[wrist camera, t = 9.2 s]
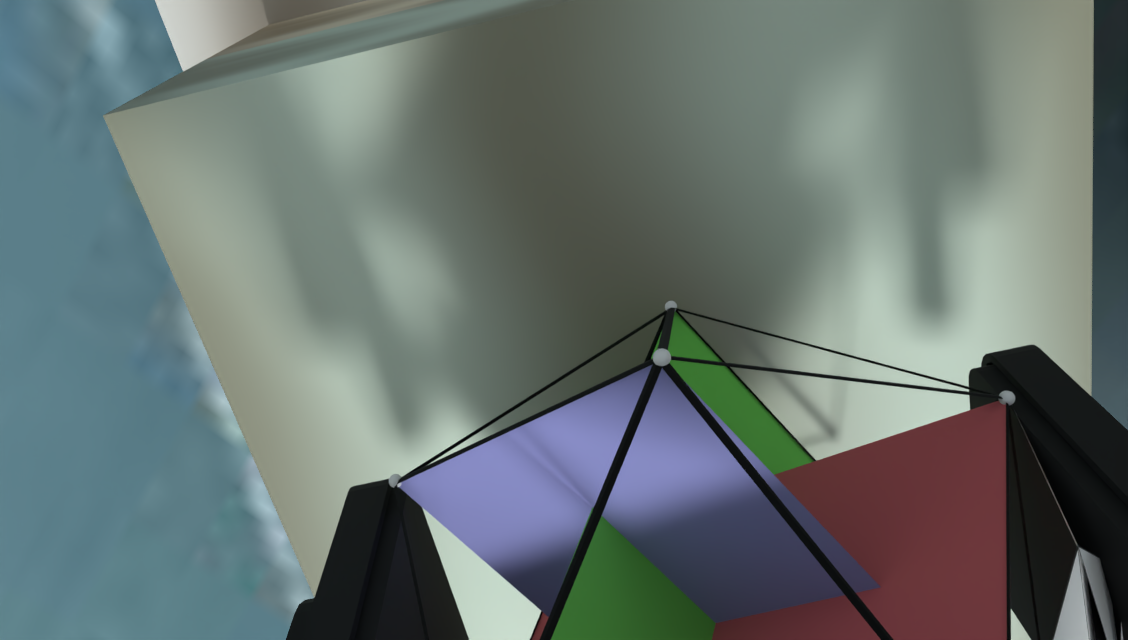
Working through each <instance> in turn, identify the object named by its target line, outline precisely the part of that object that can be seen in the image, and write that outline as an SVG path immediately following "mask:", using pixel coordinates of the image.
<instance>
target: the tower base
mask: <svg viewBox="0 0 1128 640" xmlns="http://www.w3.org/2000/svg"><path fill="white" fill-rule="evenodd" d="M155 1H156V4H157V7H158V9H159V12H160V14H161V17H162V19H163V22H164V24H165V27H166V29H167V32H168V34H169V37H170V39H171V42H172V45H173V47H174V50H175V52H176V55H177V57H178V60H179V62H180V65H181V67H182V70H183V72H182V73H180V74H178V75H176V76H174V77H173V78H171V79H169V80H167V81H165V82H163V83H162V84H160V85H158V86H156V87H154V88H152V89H151V90H149V91H147V92H145V93H143V94H141V95H140V96H138V97H136V98H134V99H132V100H131V101H129V102H127V103H125V104H123V105H121V106H120V107H118V108H116V109H114V110H112V111H110V112H109V113H107V114H105V115H103V116H104V119H105V121H106V123H107V126H108V128H109V130H110V132H111V135H112V137H113V139H114V142H115V144H116V146H117V148H118V151H119V153H120V155H121V158H122V160H123V162H124V164H125V167H126V169H127V171H128V173H129V176H130V178H131V180H132V183H133V185H134V187H135V189H136V192H137V194H138V196H139V199H140V201H141V203H142V205H143V208H144V210H145V212H146V215H147V217H148V219H149V221H150V224H151V226H152V228H153V230H154V233H155V235H156V237H157V240H158V242H159V244H160V246H161V249H162V251H163V253H164V256H165V258H166V260H167V262H168V265H169V267H170V269H171V272H172V274H173V276H174V278H175V281H176V283H177V285H178V288H179V290H180V292H181V294H182V297H183V299H184V301H185V303H186V306H187V308H188V310H189V313H190V315H191V317H192V319H193V322H194V324H195V326H196V329H197V331H198V333H199V335H200V338H201V340H202V342H203V345H204V347H205V349H206V351H207V354H208V356H209V358H210V360H211V363H212V365H213V367H214V370H215V372H216V374H217V376H218V379H219V381H220V383H221V386H222V388H223V390H224V392H225V395H226V397H227V399H228V402H229V404H230V406H231V408H232V411H233V413H234V415H235V417H236V420H237V422H238V424H239V427H240V429H241V431H242V433H243V436H244V438H245V440H246V443H247V445H248V447H249V449H250V452H251V454H252V456H253V459H254V461H255V463H256V465H257V468H258V470H259V472H260V475H261V477H262V479H263V481H264V484H265V486H266V488H267V490H268V493H269V495H270V497H271V500H272V502H273V504H274V506H275V509H276V511H277V513H278V516H279V518H280V520H281V522H282V525H283V527H284V529H285V532H286V534H287V536H288V538H289V541H290V543H291V545H292V547H293V550H294V552H295V554H296V557H297V559H298V561H299V563H300V566H301V568H302V570H303V573H304V575H305V577H306V579H307V582H308V584H309V586H310V589H311V591H312V593H313V595H314V598H315V595H316V591H317V588H318V585H319V582H320V579H321V576H322V572H323V569H324V566H325V563H326V560H327V557H328V554H329V550H330V547H331V544H332V541H333V538H334V535H335V531H336V528H337V525H338V522H339V519H340V516H341V512H342V509H343V506H344V503H345V500H346V497H347V493H348V491H349V489H350V487H353V486H356V485H361V484H366V483H370V482H375V481H380V480H385V479H389V478H390V476H391V475H393V474H399V475H400V476H401V477H402V476H404V475H405V474H407V473H409V472H410V471H412V470H413V469H415V468H416V467H418V466H420V465H421V464H423V463H424V462H426V461H428V460H429V459H431V458H432V457H434V456H435V455H437V454H439V453H440V452H442V451H443V450H445V449H447V448H448V447H450V446H451V445H453V444H455V443H456V442H458V441H459V440H461V439H462V438H464V437H466V436H467V435H469V434H470V433H472V432H474V431H475V430H477V429H478V428H480V427H481V426H483V425H485V424H486V423H488V422H489V421H491V420H493V419H494V418H496V417H497V416H499V415H500V414H502V413H504V412H505V411H507V410H508V409H510V408H512V407H513V406H515V405H516V404H518V403H520V402H521V401H523V400H524V399H526V398H527V397H529V396H531V395H532V394H534V393H535V392H537V391H539V390H540V389H542V388H543V387H545V386H546V385H548V384H550V383H551V382H553V381H554V380H556V379H558V378H559V377H561V376H562V375H564V374H565V373H567V372H569V371H570V370H572V369H573V368H575V367H577V366H578V365H580V364H581V363H583V362H585V361H586V360H588V359H589V358H591V357H592V356H594V355H596V354H597V353H599V352H600V351H602V350H604V349H605V348H607V347H608V346H610V345H611V344H613V343H615V342H616V341H618V340H619V339H621V338H623V337H624V336H626V335H627V334H629V333H630V332H632V331H634V330H635V329H637V328H638V327H640V326H642V325H643V324H645V323H646V322H648V321H650V320H651V319H653V318H654V317H656V316H657V315H659V314H661V313H662V312H664V311H665V310H666V309H665V304H666V303H667V302H668V301H674V302H675V303H676V304H677V308H678V309H681V310H685V311H689V312H693V313H696V314H700V315H704V316H707V317H711V318H715V319H719V320H722V321H726V322H730V323H733V324H737V325H741V326H745V327H748V328H752V329H756V330H760V331H763V332H767V333H771V334H774V335H778V336H782V337H786V338H789V339H793V340H797V341H800V342H804V343H808V344H812V345H815V346H819V347H823V348H827V349H830V350H834V351H838V352H841V353H845V354H849V355H853V356H856V357H860V358H864V359H867V360H871V361H875V362H879V363H882V364H886V365H890V366H894V367H897V368H901V369H905V370H908V371H912V372H916V373H920V374H923V375H927V376H931V377H934V378H938V379H942V380H946V381H949V382H953V383H957V384H961V385H964V386H968V387H969V372H970V370H971V369H973V368H978V367H981V363H982V359H983V356H984V355H985V354H988V353H992V352H997V351H1002V350H1007V349H1011V348H1016V347H1021V346H1026V345H1036V346H1037V347H1039V348H1040V349H1041V350H1042V351H1043V352H1044V353H1046V354H1047V355H1048V356H1049V357H1050V358H1051V359H1052V360H1053V361H1054V362H1055V363H1056V364H1057V365H1058V366H1059V367H1060V368H1062V369H1063V370H1064V371H1065V372H1066V373H1067V374H1068V375H1069V376H1070V377H1071V378H1072V379H1073V380H1074V381H1075V382H1077V383H1078V384H1079V385H1080V386H1081V387H1082V388H1083V389H1084V390H1085V391H1086V392H1087V393H1088V394H1089V395H1090V396H1091V360H1092V198H1093V36H1094V0H155ZM678 312H679V313H680V314H681V315H682V316H683V317H684V318H685V319H686V320H687V321H688V322H689V323H690V325H691V326H692V327H693V328H694V329H695V330H696V331H697V332H698V333H699V334H700V335H701V336H702V338H703V339H704V340H705V341H706V342H707V343H708V344H709V345H710V346H711V347H712V348H713V349H714V350H715V352H716V353H717V354H718V355H719V356H720V357H721V358H722V359H723V360H724V361H725V362H726V363H735V364H743V365H751V366H760V367H768V368H776V369H785V370H793V371H801V372H810V373H818V374H826V375H834V376H843V377H851V378H859V379H868V380H876V381H884V382H893V383H901V384H909V385H918V386H926V387H934V388H943V389H951V390H959V391H968V392H969V389H965V388H961V387H958V386H954V385H950V384H947V383H943V382H939V381H935V380H932V379H928V378H924V377H921V376H917V375H913V374H910V373H906V372H902V371H898V370H895V369H891V368H887V367H884V366H880V365H876V364H873V363H869V362H865V361H861V360H858V359H854V358H850V357H847V356H843V355H839V354H836V353H832V352H828V351H824V350H821V349H817V348H813V347H810V346H806V345H802V344H799V343H795V342H791V341H787V340H784V339H780V338H776V337H773V336H769V335H765V334H762V333H758V332H754V331H750V330H747V329H743V328H739V327H736V326H732V325H728V324H725V323H721V322H717V321H714V320H710V319H706V318H702V317H699V316H695V315H691V314H688V313H684V312H680V311H678ZM663 317H664V316H662V317H660V318H659V319H657V320H656V321H654V322H653V323H651V324H649V325H648V326H646V327H645V328H643V329H641V330H640V331H638V332H637V333H635V334H634V335H632V336H630V337H629V338H627V339H626V340H624V341H622V342H621V343H619V344H618V345H616V346H615V347H613V348H611V349H610V350H608V351H607V352H605V353H604V354H602V355H600V356H599V357H597V358H596V359H594V360H592V361H591V362H589V363H588V364H586V365H585V366H583V367H581V368H580V369H578V370H577V371H575V372H573V373H572V374H570V375H569V376H567V377H566V378H564V379H562V380H561V381H559V382H558V383H556V384H555V385H553V386H551V387H550V388H548V389H547V390H545V391H543V392H542V393H540V394H539V395H537V396H536V397H534V398H532V399H531V400H529V401H528V402H526V403H524V404H523V405H521V406H520V407H518V408H517V409H515V410H513V411H512V412H510V413H509V414H507V415H505V416H504V417H502V418H501V419H499V420H498V421H496V422H494V423H493V424H491V425H490V426H488V427H487V428H485V429H483V430H482V431H480V432H479V433H477V434H475V435H474V436H472V437H471V438H469V439H468V440H466V441H464V442H463V443H461V444H460V445H458V446H456V447H455V448H453V449H452V450H450V451H449V452H447V453H445V454H444V455H442V456H441V457H439V458H438V459H436V460H434V461H433V462H435V461H437V460H439V459H442V458H444V457H446V456H448V455H450V454H452V453H454V452H456V451H458V450H460V449H463V448H465V447H467V446H469V445H471V444H473V443H475V442H477V441H479V440H482V439H484V438H486V437H488V436H490V435H492V434H494V433H496V432H498V431H501V430H503V429H505V428H507V427H509V426H511V425H513V424H515V423H517V422H520V421H522V420H524V419H526V418H528V417H530V416H532V415H534V414H536V413H539V412H541V411H543V410H545V409H547V408H549V407H551V406H553V405H555V404H557V403H560V402H562V401H564V400H566V399H568V398H570V397H572V396H574V395H576V394H579V393H581V392H583V391H585V390H587V389H589V388H591V387H593V386H595V385H598V384H600V383H602V382H604V381H606V380H608V379H610V378H612V377H614V376H617V375H619V374H621V373H623V372H625V371H627V370H629V369H631V368H633V367H636V366H638V365H640V364H642V363H644V361H645V359H646V357H647V354H648V352H649V350H650V347H651V345H652V343H653V340H654V338H655V336H656V333H657V331H658V328H659V326H660V324H661V321H662V319H663ZM730 368H731V369H732V370H733V371H734V372H735V373H736V374H737V375H738V376H739V377H740V379H741V380H742V381H743V382H744V383H745V384H746V385H747V386H748V387H749V388H750V389H751V390H752V392H753V393H754V394H755V395H756V396H757V397H758V398H759V399H760V400H761V401H762V402H763V403H764V405H765V406H766V407H767V408H768V409H769V410H770V411H771V412H772V413H773V414H774V415H775V416H776V417H777V419H778V420H779V421H780V422H781V423H782V424H783V425H784V426H785V427H786V428H787V429H788V430H789V432H790V433H791V434H792V435H793V436H794V437H795V438H796V439H797V440H798V441H799V442H800V443H801V444H802V446H803V447H804V448H805V449H806V450H807V451H808V452H809V453H810V454H811V455H812V456H813V457H814V459H815V460H816V461H817V460H820V459H823V458H826V457H829V456H832V455H835V454H838V453H841V452H844V451H847V450H850V449H853V448H856V447H859V446H863V445H866V444H869V443H872V442H875V441H878V440H881V439H884V438H887V437H890V436H893V435H896V434H899V433H902V432H905V431H908V430H911V429H914V428H917V427H920V426H923V425H926V424H929V423H932V422H935V421H938V420H941V419H944V418H947V417H950V416H954V415H957V414H960V413H963V412H966V411H969V410H970V399H969V395H963V394H955V393H946V392H938V391H929V390H921V389H912V388H904V387H896V386H887V385H879V384H870V383H862V382H853V381H845V380H836V379H828V378H819V377H811V376H803V375H794V374H786V373H777V372H769V371H760V370H752V369H743V368H735V367H730ZM433 462H431V463H433ZM431 463H430V464H431ZM428 465H429V464H428ZM426 466H427V465H426ZM422 509H423V511H424V514H425V517H426V520H427V523H428V525H429V528H430V531H431V534H432V537H433V539H434V542H435V545H436V548H437V551H438V553H439V556H440V559H441V562H442V565H443V567H444V570H445V573H446V576H447V579H448V581H449V584H450V587H451V590H452V593H453V595H454V598H455V601H456V604H457V607H458V609H459V612H460V615H461V618H462V621H463V623H464V626H465V629H466V632H467V635H468V638H469V640H530V638H531V635H532V633H533V630H534V628H535V625H536V623H537V620H538V618H539V615H540V613H541V610H540V609H539V608H537V607H536V606H535V605H534V604H533V603H532V602H531V601H529V600H528V599H527V598H526V597H525V596H524V595H523V594H521V593H520V592H519V591H518V590H517V589H516V588H514V587H513V586H512V585H511V584H510V583H509V582H508V581H506V580H505V579H504V578H503V577H502V576H501V575H500V574H498V573H497V572H496V571H495V570H494V569H493V568H491V567H490V566H489V565H488V564H487V563H486V562H485V561H483V560H482V559H481V558H480V557H479V556H478V555H477V554H475V553H474V552H473V551H472V550H471V549H470V548H468V547H467V546H466V545H465V544H464V543H463V542H462V541H460V540H459V539H458V538H457V537H456V536H455V535H454V534H452V533H451V532H450V531H449V530H448V529H447V528H445V527H444V526H443V525H442V524H441V523H440V522H439V521H437V520H436V519H435V518H434V517H433V516H432V515H431V514H429V513H428V512H427V511H426V510H425V509H424V508H422ZM1011 640H1031V639H1030V637H1029V636H1028V634H1027V632H1026V631H1025V629H1024V628H1023V626H1022V625H1021V623H1020V622H1019V620H1018V619H1017V617H1016V615H1015V614H1014V612H1013V611H1012V609H1011Z"/></svg>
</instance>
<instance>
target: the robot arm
mask: <svg viewBox="0 0 1128 640" xmlns="http://www.w3.org/2000/svg"><path fill="white" fill-rule="evenodd" d="M969 387H972V388H975V389H979V390H983V391H987V392H990V393H994V394H998V395H999V394H1000V393H1001V392H1003V391H1011V392H1012V393H1013V394H1014V395H1015V402H1014V403H1013V404H1012V405H1010V413H1011V420H1012V428H1013V436H1014V443H1015V451H1016V458H1017V466H1018V473H1019V481H1020V489H1021V496H1022V504H1023V511H1024V519H1025V526H1026V534H1027V542H1028V549H1029V557H1030V564H1031V572H1032V579H1033V587H1034V595H1035V602H1036V610H1037V617H1038V625H1039V632H1040V640H1052V637H1053V633H1054V629H1055V625H1056V622H1057V618H1058V614H1059V611H1060V607H1061V603H1062V600H1063V596H1064V592H1065V589H1066V585H1067V581H1068V577H1069V574H1070V570H1071V566H1072V563H1073V559H1074V555H1075V552H1076V548H1077V545H1079V546H1081V547H1082V548H1084V549H1086V550H1088V551H1090V552H1091V553H1093V554H1095V555H1097V556H1099V558H1100V561H1101V565H1102V569H1103V572H1104V576H1105V580H1106V583H1107V587H1108V590H1109V594H1110V598H1111V601H1112V605H1113V612H1114V619H1115V627H1116V635H1117V640H1121V624H1122V632H1123V640H1128V430H1127V429H1126V428H1125V427H1124V426H1122V425H1121V424H1120V423H1119V422H1118V421H1117V420H1116V419H1115V418H1114V417H1113V416H1112V415H1111V414H1110V413H1109V412H1108V411H1106V410H1105V409H1104V408H1103V407H1102V406H1101V405H1100V404H1099V403H1098V402H1097V401H1096V400H1095V399H1094V398H1093V397H1091V396H1090V395H1089V394H1088V393H1087V392H1086V391H1085V390H1084V389H1083V388H1082V387H1081V386H1080V385H1079V384H1078V383H1077V382H1075V381H1074V380H1073V379H1072V378H1071V377H1070V376H1069V375H1068V374H1067V373H1066V372H1065V371H1064V370H1063V369H1062V368H1060V367H1059V366H1058V365H1057V364H1056V363H1055V362H1054V361H1053V360H1052V359H1051V358H1050V357H1049V356H1048V355H1047V354H1046V353H1044V352H1043V351H1042V350H1041V349H1040V348H1039V347H1037V346H1036V345H1026V346H1021V347H1016V348H1011V349H1007V350H1002V351H997V352H992V353H988V354H985V355H984V356H983V359H982V363H981V367H978V368H973V369H971V370H970V372H969ZM969 392H976V391H972V390H969ZM976 393H980V392H976ZM969 399H970V410H972V409H975V408H978V407H981V406H984V405H987V404H990V403H993V402H995V401H996V400H998V399H997V398H989V397H980V396H972V395H969ZM1014 410H1015V411H1014ZM1015 412H1016V413H1015ZM1020 423H1021V424H1020ZM1021 425H1022V426H1021ZM1022 427H1023V428H1022ZM1023 429H1024V430H1023ZM1026 436H1027V437H1026ZM1027 438H1028V439H1027ZM1028 440H1029V441H1028ZM1029 442H1030V443H1029ZM1030 444H1031V445H1030ZM1032 449H1033V450H1032ZM1033 451H1034V452H1033ZM1034 453H1035V454H1034ZM1035 455H1036V456H1035ZM1036 457H1037V458H1036ZM1037 459H1038V460H1037ZM1038 462H1039V463H1038ZM1039 464H1040V465H1039ZM1040 466H1041V467H1040ZM1041 468H1042V469H1041ZM1042 470H1043V471H1042ZM1043 472H1044V473H1043ZM1044 474H1045V476H1044ZM1045 477H1046V478H1045ZM1046 479H1047V480H1046ZM1047 481H1048V482H1047ZM1048 483H1049V484H1048ZM1049 485H1050V486H1049ZM1050 487H1051V489H1052V491H1053V493H1052V491H1051V489H1050ZM398 492H399V497H400V501H401V506H402V511H403V516H404V521H405V526H406V530H407V535H408V540H409V545H410V550H411V555H412V559H413V564H414V569H415V574H416V579H417V583H418V588H419V593H420V598H421V603H422V608H423V612H424V617H425V622H426V627H427V632H428V637H429V640H469V638H468V635H467V632H466V629H465V626H464V623H463V621H462V618H461V615H460V612H459V609H458V607H457V604H456V601H455V598H454V595H453V593H452V590H451V587H450V584H449V581H448V579H447V576H446V573H445V570H444V567H443V565H442V562H441V559H440V556H439V553H438V551H437V548H436V545H435V542H434V539H433V537H432V534H431V531H430V528H429V525H428V523H427V520H426V517H425V514H424V511H423V509H422V507H421V506H420V505H419V504H418V503H417V502H416V501H414V500H413V499H412V498H411V497H410V496H409V495H408V494H406V493H405V492H404V491H403V490H402V489H401V488H398ZM1053 494H1054V495H1053ZM1054 496H1055V497H1054ZM1055 498H1056V499H1055ZM1056 500H1057V502H1058V504H1059V506H1060V508H1059V506H1058V504H1057V502H1056ZM1060 509H1061V510H1060ZM1061 511H1062V512H1061ZM1062 513H1063V515H1064V517H1065V519H1066V521H1067V523H1066V521H1065V519H1064V517H1063V515H1062ZM1067 524H1068V525H1067ZM1068 526H1069V528H1070V530H1071V532H1072V534H1073V536H1074V538H1073V536H1072V534H1071V532H1070V530H1069V528H1068ZM1074 539H1075V541H1076V543H1077V545H1076V543H1075V541H1074ZM1010 562H1011V609H1012V611H1013V612H1014V614H1015V615H1016V617H1017V619H1018V620H1019V622H1020V623H1021V625H1022V626H1023V628H1024V629H1025V631H1026V632H1027V634H1028V636H1029V637H1030V639H1031V640H1038V639H1037V632H1036V624H1035V617H1034V609H1033V602H1032V594H1031V587H1030V579H1029V571H1028V564H1027V556H1026V549H1025V541H1024V534H1023V526H1022V519H1021V511H1020V503H1019V496H1018V488H1017V481H1016V473H1015V466H1014V458H1013V450H1012V443H1011V435H1010ZM1088 586H1089V593H1090V601H1091V609H1092V616H1093V624H1094V631H1095V639H1096V640H1106V637H1105V633H1104V630H1103V627H1102V623H1101V620H1100V617H1099V614H1098V610H1097V607H1096V604H1095V601H1094V597H1093V594H1092V591H1091V588H1090V584H1089V581H1088ZM286 640H425V636H424V631H423V626H422V621H421V616H420V611H419V606H418V601H417V597H416V592H415V587H414V582H413V577H412V572H411V567H410V562H409V557H408V552H407V547H406V542H405V537H404V533H403V528H402V523H401V518H400V513H399V509H398V504H397V499H396V493H395V488H393V487H391V486H390V484H389V479H385V480H380V481H375V482H370V483H366V484H361V485H356V486H353V487H350V489H349V491H348V493H347V497H346V500H345V503H344V506H343V509H342V512H341V516H340V519H339V522H338V525H337V528H336V531H335V535H334V538H333V541H332V544H331V547H330V550H329V554H328V557H327V560H326V563H325V566H324V569H323V572H322V576H321V579H320V582H319V585H318V588H317V591H316V595H315V598H313V599H308V600H305V601H303V602H302V603H301V604H299V606H298V608H297V610H296V612H295V614H294V617H293V620H292V623H291V626H290V629H289V632H288V635H287V638H286Z"/></svg>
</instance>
